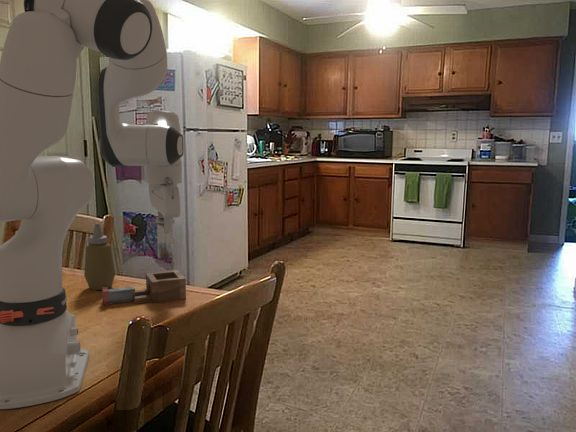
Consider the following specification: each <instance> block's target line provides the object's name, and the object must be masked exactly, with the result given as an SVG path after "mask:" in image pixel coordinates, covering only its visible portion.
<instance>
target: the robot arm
mask: <svg viewBox="0 0 576 432" xmlns="http://www.w3.org/2000/svg"><path fill="white" fill-rule="evenodd" d="M23 11H24V12H21V13H19V14H17V15H16V16H15V17H13V19H12V21H11V22H10V26H9V29H8V30H7V33H6V37H5V41H4V43H3V48H2V52H1V56H0V223H5V222H12V221H14V222H15V221H20V220H21V222H20V225H19V227H18V229H17V231H16V232H15V234H14V235H13V236H12V237H11V238H10V239H8V240H6V241H5V242H4V243H2V244H0V410H9V409H17V408H25V407H30V406H31V407H32V406H36V405H41V404H45V403H49V402H54V401H57V400H61V399H63V398H66V397H70V396H72V395H73V394H75V393H78V392H79V391H80V390H81V387H82V383H83V380H84V376H85V372H86V369H87V365H88V362H89V357H90V353H89V352H90V351H89V350H87V349H85V348H81V341H78V339H77V336H79V328H78V327H77V324H76V322H77V321H76V316H75V315H74V314H72V313H70V312H69V311H68V309H67V307H68V306H67V301H68V300H67V294H66V289H65V288H64V287H63V248H64V243H65V239H66V237H67V234H68V231H69V229H70V227H71V225H72V223H73V221H74V220H75V218H76V217H77V215H78V214H79V213H80V212H81V211H82V210H83V209H84V208H85V207H86V206H87V205H88V204H89V203H90V201H91V200H92V197H93V195H94V190H95V185H94V184H95V182H94V177H93V173H92V172H91V170H90V168H89V167H88V165H86V163H85V162H83V161H82V160H80V159H78V158H72V157H67V156H59V155H41V154H42V153H44V151H46V150H47V149H49V148H51V147H52V146H54V145H56V144H57V143H59V142H60V141H61V140H62V139H63V138H64V136H65V135H66V133H67V131H68V127H69V121H70V116H71V109H72V103H73V99H74V92H75V86H76V78H77V77H76V76H77V67H78V66H77V63H78V62H77V61H78V59H79V56H80V54H81V53H82V51H84V49H85V48H87V49H90V50H92V51H94V52H95V51H96V52H99V53H101V54H102V55H103V56H105V57H107V58H108V65H107V66H106V67H104V68H102V69H101V70H100V73H99V75H98V80H97V86H96V87H97V88H96V89H97V108H98V109H97V110H98V111H97V112H98V121H99V123H98V125H99V144H98V145H99V146H98V147H99V152H100V157H101V159H103V161H105V163H107V164H108V165H109V166H111V167H112V168H118V167H119V168H120V167H137V166H138V167H145V180H146V181H145V182H146V183H147V184H148V191H149V192H148V193H149V201H150V205H151V207H152V208H154V209H155V210H156V211H157V212H156V213H157V219H158V218H164V224H163V229H164V231H165V232H170V231H171V230H172V221H173V218H174V219H175V218H180V215H181V200H180V199H181V197H180V190H179V186H178V184H181V183H182V181H183V176H182V175H183V173H182V171H183V170H182V166H183V165H182V159H181V158H182V157H183V156H184V135H183V134H182V133H181V126H180V120H179V116H178V114H177V113H175V112H173V111H170V110H162V109H161V110H159V109H158V110H152V111H149V112H148V113H147V115H146V122H145V124H129V123H125V122H122V121H121V119H120V116H121V115H120V104H121V103H124V102H126V101H129V100H132V99H136V98H139V97H143V96H147V95H149V94H150V93H153V91H155V90H156V89H158V88H159V87H160V86H161V85H162V84H163V82H164V81H165V79H166V77H167V74H168V52H167V47H166V41H165V38H164V33H163V29H162V26H161V22H160V20H159V16H158V14H157V11H156V9H155V7H154V5H153V3H152V2H151V1H150V0H23Z"/></svg>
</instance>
